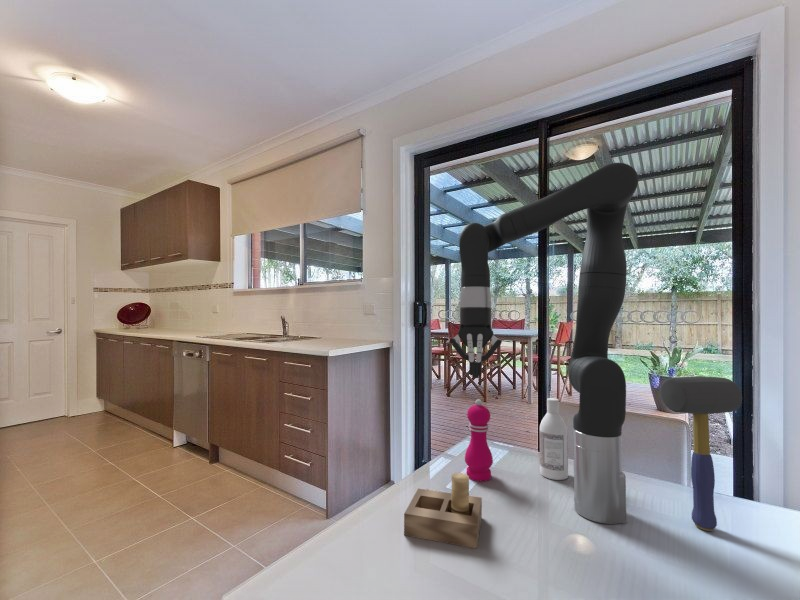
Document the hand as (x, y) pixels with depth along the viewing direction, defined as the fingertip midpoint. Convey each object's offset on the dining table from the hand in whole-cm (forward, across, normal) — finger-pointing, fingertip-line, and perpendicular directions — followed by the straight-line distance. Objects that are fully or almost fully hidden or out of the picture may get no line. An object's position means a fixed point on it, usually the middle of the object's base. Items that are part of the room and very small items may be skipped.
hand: (475, 377), depth 90 cm
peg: (+27, +1, +17) cm, 32 cm away
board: (+27, +4, +17) cm, 32 cm away
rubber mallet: (+27, -45, +2) cm, 53 cm away
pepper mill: (+27, 0, -9) cm, 29 cm away
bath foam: (+27, -19, -16) cm, 37 cm away
